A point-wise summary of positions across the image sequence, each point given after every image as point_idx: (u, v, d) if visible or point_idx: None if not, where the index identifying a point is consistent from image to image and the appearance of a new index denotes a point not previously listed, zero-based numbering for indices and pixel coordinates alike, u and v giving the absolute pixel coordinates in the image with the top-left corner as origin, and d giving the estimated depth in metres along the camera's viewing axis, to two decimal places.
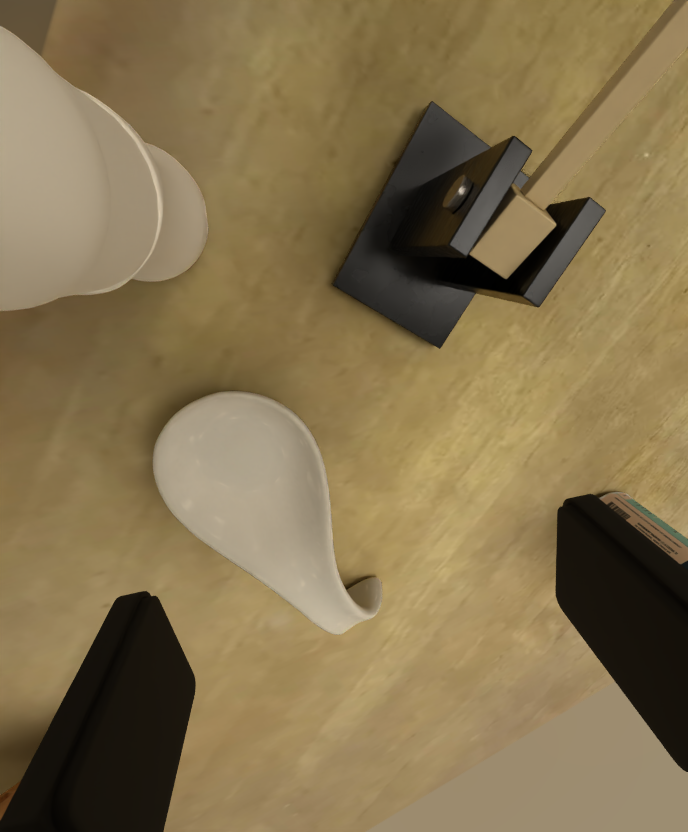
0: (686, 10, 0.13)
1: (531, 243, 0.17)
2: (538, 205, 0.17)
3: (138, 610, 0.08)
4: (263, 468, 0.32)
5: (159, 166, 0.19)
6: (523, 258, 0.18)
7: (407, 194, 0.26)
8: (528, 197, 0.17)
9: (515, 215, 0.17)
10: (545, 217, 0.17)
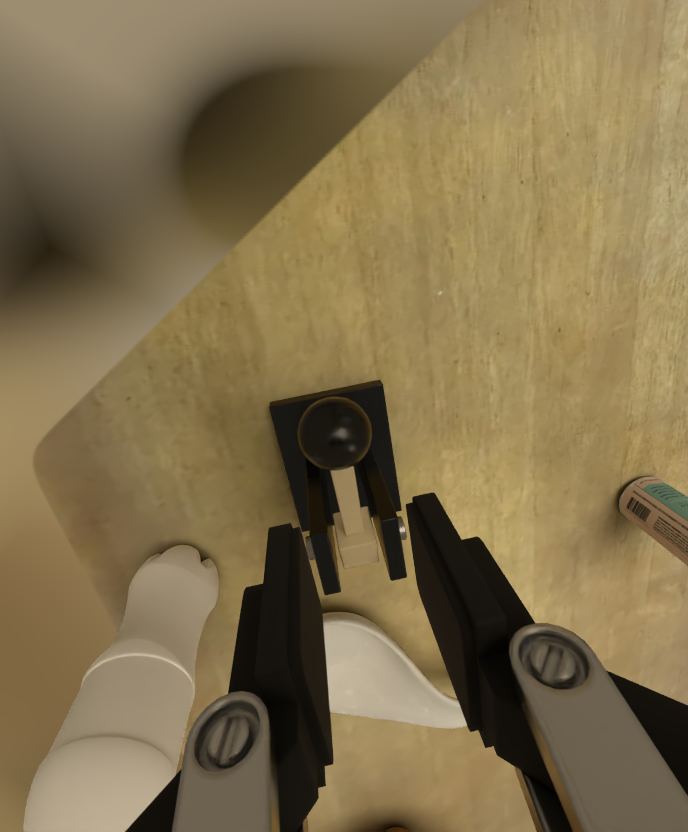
0: (335, 474, 0.19)
1: (372, 551, 0.24)
2: (358, 533, 0.24)
3: (292, 536, 0.10)
4: (351, 641, 0.42)
5: (164, 612, 0.30)
6: (376, 554, 0.25)
7: (300, 458, 0.34)
8: (348, 535, 0.24)
9: (349, 552, 0.24)
10: (366, 544, 0.24)
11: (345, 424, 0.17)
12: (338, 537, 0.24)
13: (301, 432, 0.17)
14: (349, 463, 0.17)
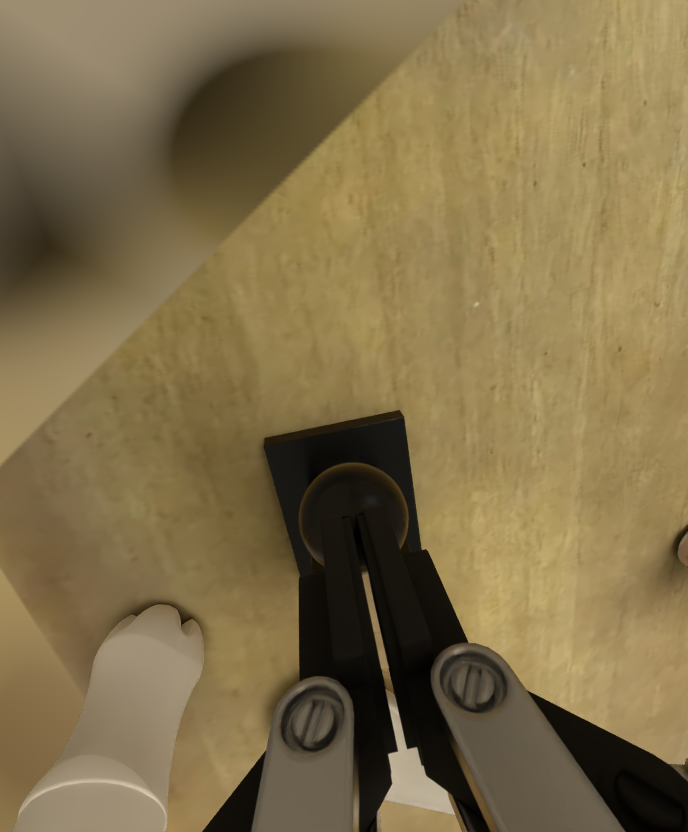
0: None
1: None
2: None
3: (345, 526, 0.10)
4: None
5: (130, 707, 0.24)
6: None
7: None
8: None
9: None
10: None
11: None
12: None
13: (304, 520, 0.11)
14: None
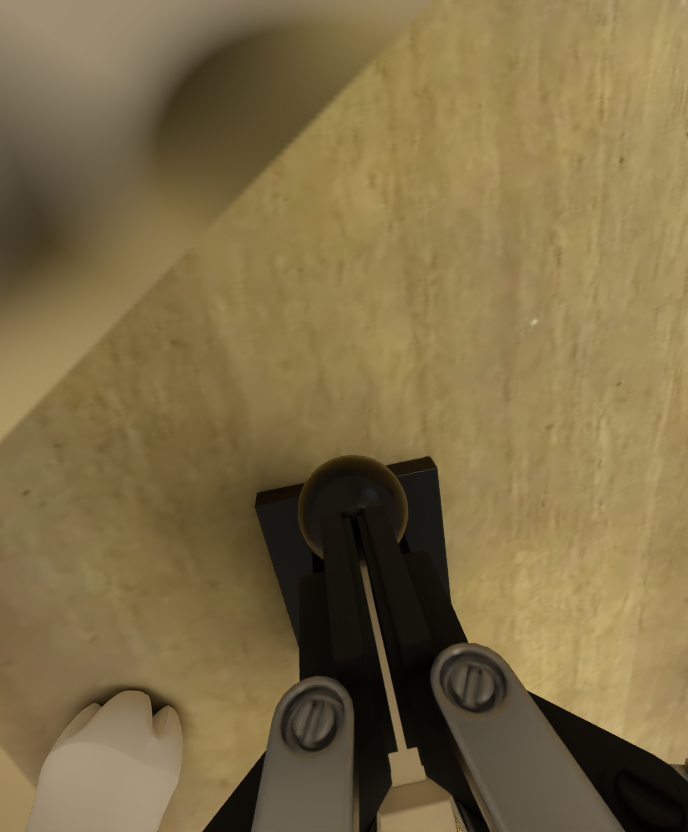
0: None
1: None
2: (415, 781, 0.13)
3: (345, 526, 0.10)
4: None
5: None
6: None
7: None
8: (396, 785, 0.13)
9: None
10: (431, 806, 0.12)
11: (362, 470, 0.11)
12: None
13: (301, 495, 0.12)
14: None
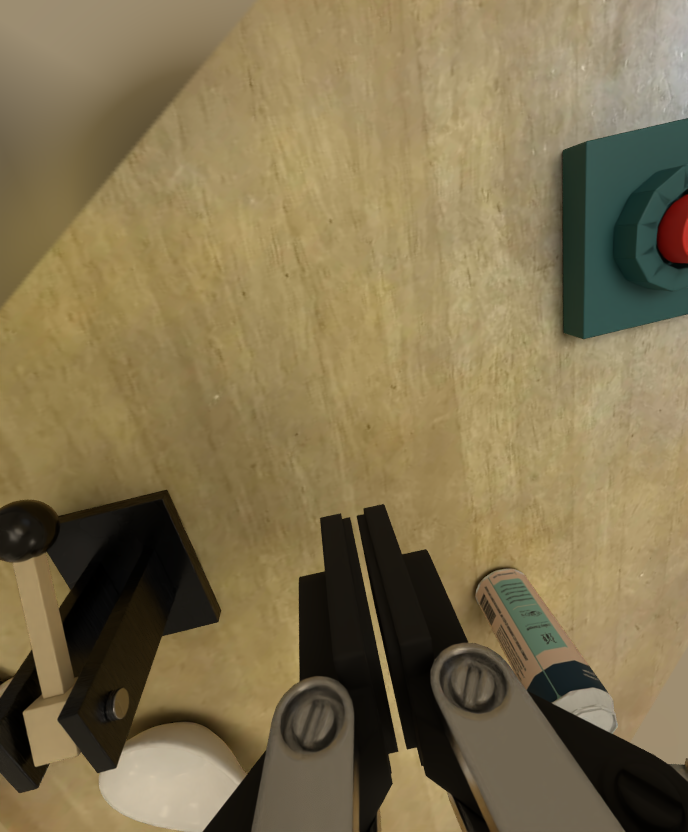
0: (19, 577, 0.21)
1: None
2: (56, 695, 0.21)
3: (345, 526, 0.10)
4: None
5: None
6: None
7: None
8: (45, 697, 0.21)
9: (34, 721, 0.20)
10: (53, 705, 0.21)
11: (16, 507, 0.21)
12: (35, 701, 0.21)
13: None
14: (7, 542, 0.20)
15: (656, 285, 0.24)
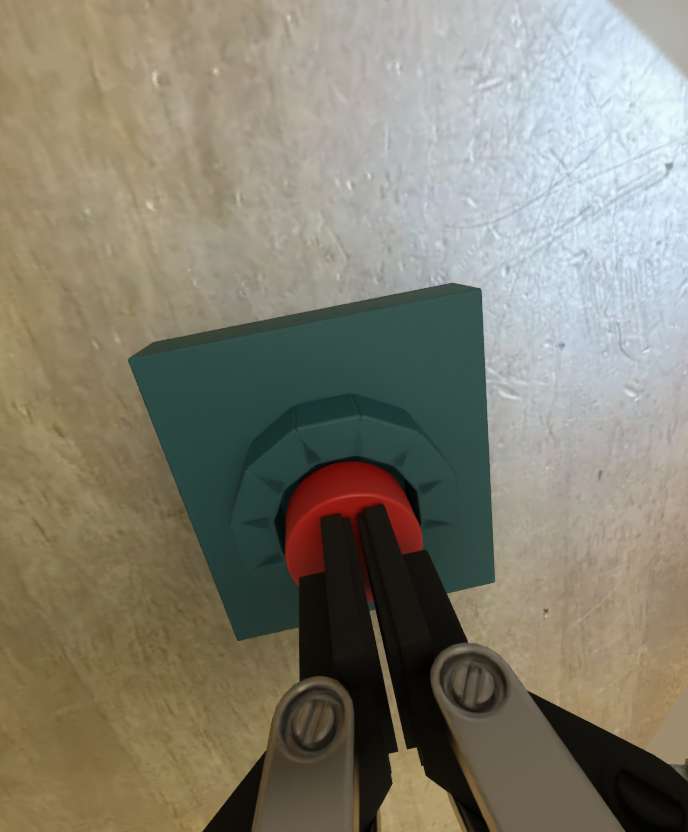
0: None
1: None
2: None
3: (345, 526, 0.10)
4: None
5: None
6: None
7: None
8: None
9: None
10: None
11: None
12: None
13: None
14: None
15: None
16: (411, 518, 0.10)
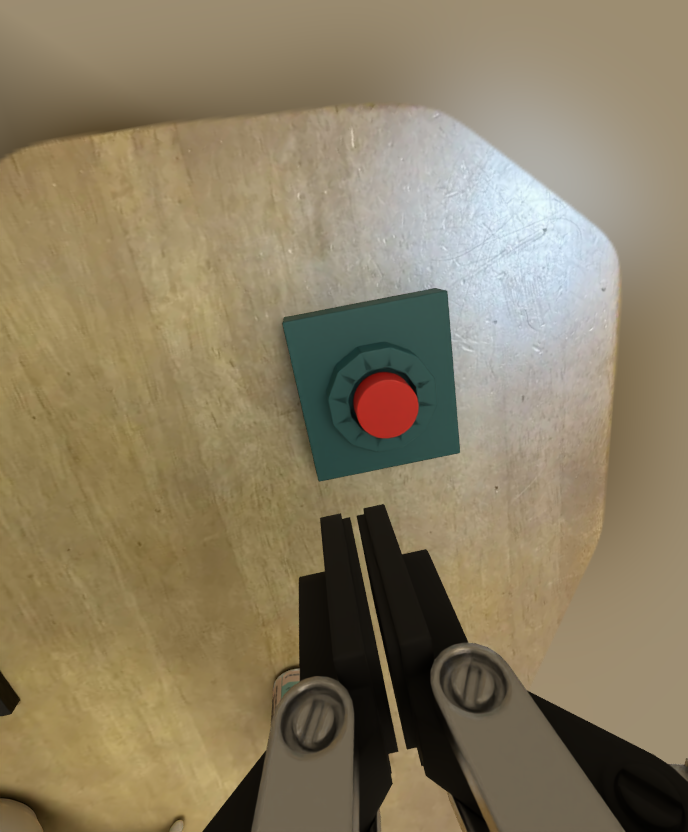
0: None
1: None
2: None
3: (345, 526, 0.10)
4: None
5: None
6: None
7: None
8: None
9: None
10: None
11: None
12: None
13: None
14: None
15: (360, 447, 0.26)
16: (413, 393, 0.23)
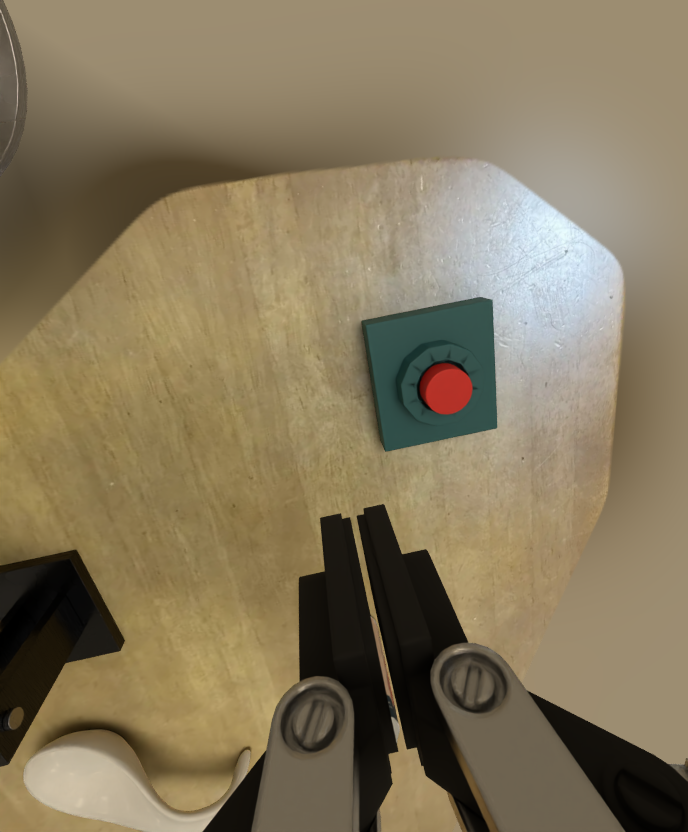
0: None
1: None
2: None
3: (345, 526, 0.10)
4: None
5: None
6: None
7: None
8: None
9: None
10: None
11: None
12: None
13: None
14: None
15: (423, 422, 0.33)
16: (469, 379, 0.31)
